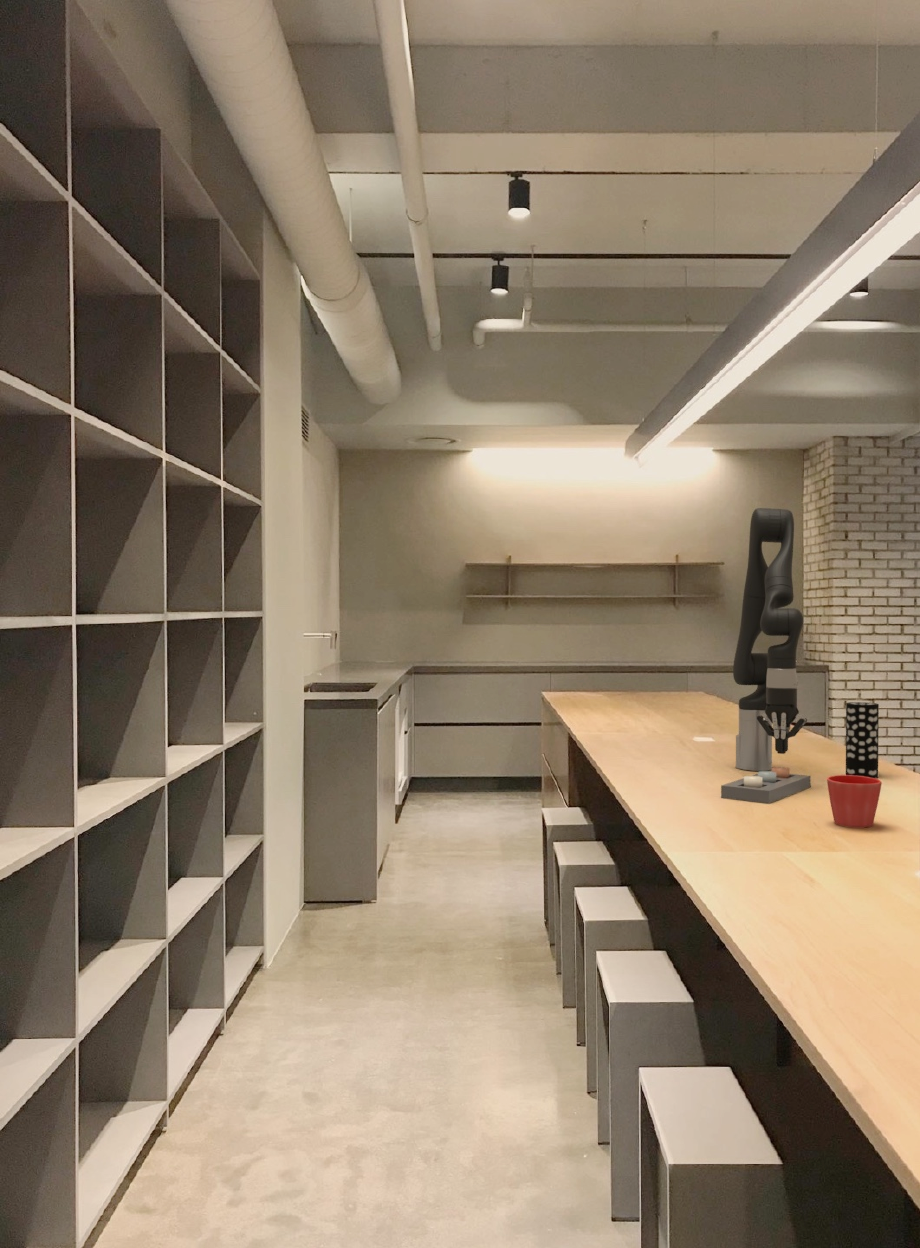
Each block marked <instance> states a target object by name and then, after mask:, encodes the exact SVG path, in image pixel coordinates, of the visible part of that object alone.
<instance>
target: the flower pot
mask: <svg viewBox="0 0 920 1248" xmlns="http://www.w3.org/2000/svg"><path fill="white" fill-rule="evenodd" d="M826 783H827V789H828V796H829V797H828V798H829V802H830V808H831V813H832V817H833V823H835V825H837V826H840V827H845V828H853V829H854V828H857V829H863V828H870V827H873V826H874V821H875V817H876V814H877V813H876V812H877V808H878V805H879V800H880V794H881V790H882V784H883V783H882V781H881V780H880V779H878V778H870V777H864V776H854V775H846V774H841V775H839V774H837V775H830V776H828V777H827V778H826Z"/></svg>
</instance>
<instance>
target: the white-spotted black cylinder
mask: <svg viewBox="0 0 920 1248" xmlns="http://www.w3.org/2000/svg"><path fill="white" fill-rule="evenodd" d="M879 708H880V705H879V703H874V702H864V701H863V702H859V701H857V702H856V701H854V702H853V701H851V702H846V703H845V775H854V776H864V777H870V778H875V779H878V778H879V729H880V728H879V723H880V722H879V721H880V720H879V717H880V716H879V713H880V712H879V710H880V709H879Z"/></svg>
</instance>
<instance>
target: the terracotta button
mask: <svg viewBox="0 0 920 1248" xmlns="http://www.w3.org/2000/svg"><path fill="white" fill-rule="evenodd" d="M771 772H776V777H779V778H790V774H791V773H790V767H785V766H772V769H771Z"/></svg>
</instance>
